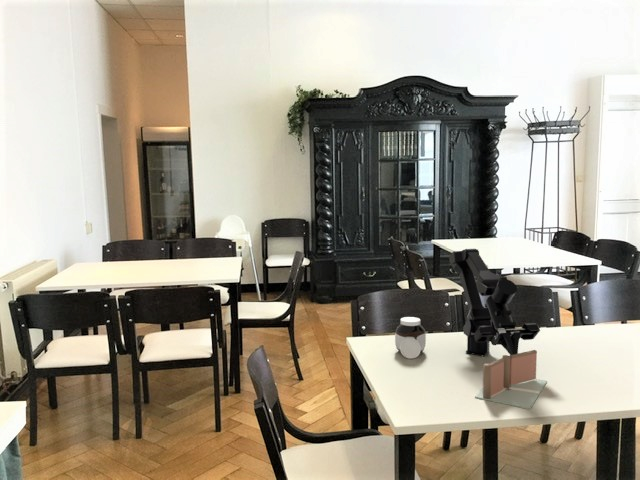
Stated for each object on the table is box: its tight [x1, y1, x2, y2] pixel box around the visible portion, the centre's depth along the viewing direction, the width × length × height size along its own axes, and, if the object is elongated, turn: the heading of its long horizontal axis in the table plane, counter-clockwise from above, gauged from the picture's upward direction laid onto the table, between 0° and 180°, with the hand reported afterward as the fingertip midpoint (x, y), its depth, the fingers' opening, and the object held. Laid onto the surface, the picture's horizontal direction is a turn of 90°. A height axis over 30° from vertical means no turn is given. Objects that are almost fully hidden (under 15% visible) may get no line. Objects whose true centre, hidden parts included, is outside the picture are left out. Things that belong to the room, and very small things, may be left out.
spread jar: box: [394, 316, 427, 360], centre depth 183 cm, size 12×11×12 cm
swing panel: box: [501, 349, 538, 388], centre depth 154 cm, size 13×2×9 cm, turn 117°
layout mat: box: [474, 378, 548, 410], centre depth 151 cm, size 14×22×1 cm, turn 147°
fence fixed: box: [482, 358, 512, 399], centre depth 149 cm, size 6×13×10 cm, turn 147°
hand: (515, 358), depth 156 cm, fingers closed
